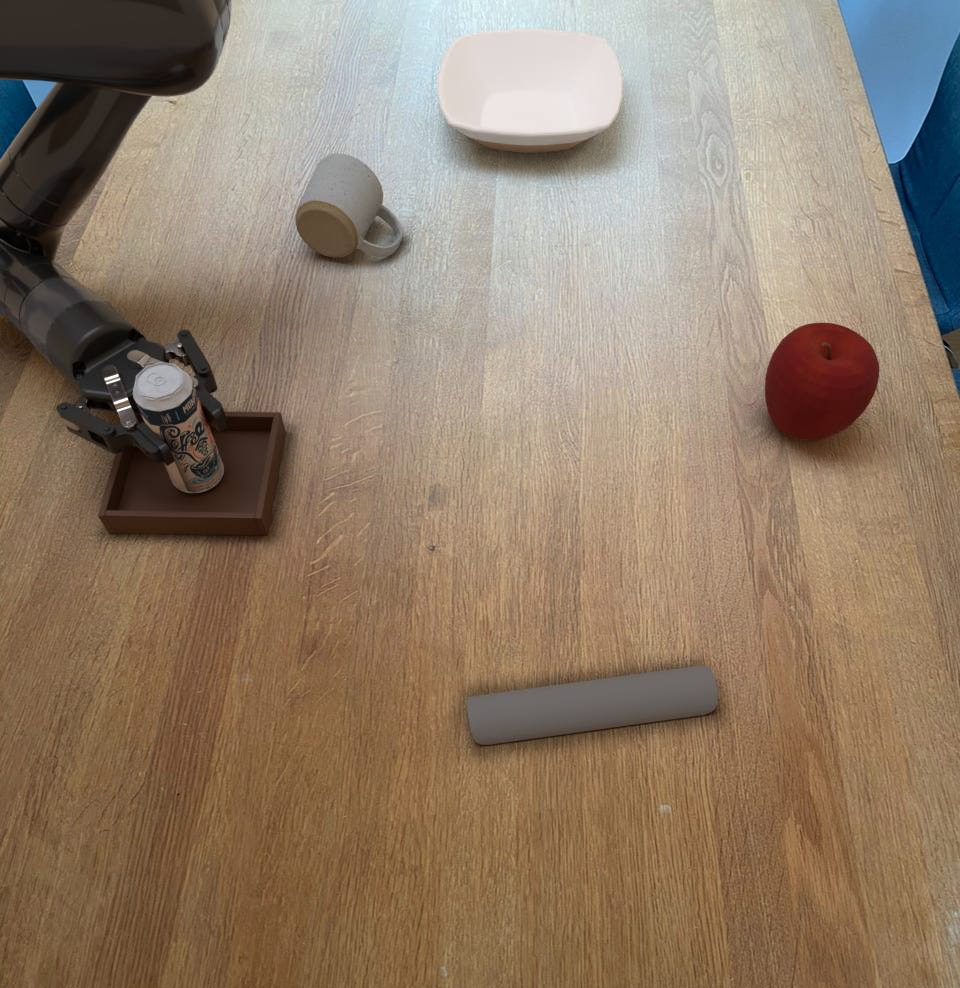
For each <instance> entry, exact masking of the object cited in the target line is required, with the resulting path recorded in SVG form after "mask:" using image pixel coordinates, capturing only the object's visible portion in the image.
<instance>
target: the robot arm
mask: <svg viewBox="0 0 960 988" xmlns="http://www.w3.org/2000/svg"><path fill="white" fill-rule="evenodd" d="M232 3H233V2H232V0H0V81H35V82H36V81H38V82H49V83H55V84H54V85H53V86H52V87H51V88H50V90H49V92H48V93H47V94H46V96H45V97H44V98H43V99H42V101H41V103H40V104H39V105H38V107H37V108H36V109H35V110H34V111H33V113H32V114H31V116H30V117H29V118H28V119H27V121H26V122H25V123H24V125H23V126H22V127H21V129H20V130H19V131H18V133H17V134H16V136H15V138H14V139H13V140H12V141H11V143H10V145H9V146H8V147H7V149H6V151H5V152H4V154H2V157H0V315H1V316H3V317H5V318H6V319H8V321H9V322H10V323H12V325H13V326H15V328H16V329H18V330H19V332H20V333H22V334H23V335H24V336H25V337H26V338H27V339H28V340H29V341H30V343H31V345H32V346H33V347H34V348H35V350H36V351H37V352H38V353H39V354H40V355H41V356H42V357H43V358H44V359H45V360H46V361H47V362H48V363H49V364H50V365H51V366H52V367H53V368H54V369H55V370H56V371H57V372H58V373H59V374H60V375H61V376H63V377H64V378H65V379H66V380H67V381H68V382H69V383H70V384H71V385H72V386H73V387H74V388H75V389H76V390H77V391H78V395H79V396H78V397H77V398H76V399H75V400H74V401H73V402H67V401H64V402H60V403H59V404H58V405H57V406H56V411H57V414H58V415H59V417H60V418H61V420H62V422H63V424H64V425H65V427H66V429H67V431H68V432H69V433H72V434H73V435H76V436H77V437H79V438H82V439H83V440H85V441H87V442H89V443H91V444H92V445H95V446H97V447H98V448H101V449H103V450H105V451H106V452H108V453H110V454H113V455H116V454H118V453H120V452H122V451H123V449H124V447H125V446H128V445H133V446H136V447H138V448H139V449H140V450H141V451H142V452H143V453H144V454H145V455H147V456H148V457H149V458H150V459H151V460H152V461H153V462H154V463H157V464H160V463H161V462H164V463H165V464H166V465H167V466H169V465H170V464H172V463H173V462H175V460H174V457H173V455H172V453H171V450H170V448H169V447H168V445H167V444H166V443H165V442H164V441H163V440H162V439H161V438H160V437H159V436H157V435H156V434H155V433H154V432H153V431H152V430H151V429H150V428H149V427H148V426H147V425H146V424H145V423H144V422H142V423H139V421H138V418H137V416H136V414H137V413H138V412H140V411H139V409H138V406H137V404H136V402H135V400H134V397H133V388H134V385H135V380H136V375H137V374H139V373H140V372H141V371H142V370H143V369H144V368H145V367H146V366H149V365H152V364H156V363H159V362H164V363H170V361H171V360H176V361H177V362H178V363H179V364H183V366H184V367H189V366H190V368H191V370H192V373H193V374H194V376H191V375H189V376H190V378H191V380H192V382H193V385H194V387H195V390H196V393H197V395H198V398H199V401H200V403H201V406H202V409H203V411H204V414H205V417H206V420H207V421H208V422H209V423H210V424H211V425H212V426H213V427H214V428H215V429H216V430H218V431H219V432H220V431H221V430H223V429H224V428H226V424H225V420H227V418H226V415H225V412H226V411H225V409H224V407H223V404H222V403H221V402H220V401H219V400H218V399H217V398H216V397H215V396H213V393H215V392H217V390H218V384H217V381H216V379H215V376H214V372H213V370H212V367H211V365H210V363H209V361H208V359H207V358H206V356H205V355H204V353H203V351H202V350H201V348H200V346H199V344H198V342H197V341H196V339H195V337H194V336H193V334H192V332H191V330H188V329H182V330H179V331H178V332H177V334H176V337H177V339H178V340H175V341H173V342H170V343H167V344H165V345H163V344H161V343H160V342H157V341H154V340H153V341H152V340H150V339H148V338H147V337H145V335H144V334H143V333H142V332H141V331H140V330H139V329H138V328H137V327H135V326H134V325H133V324H132V323H131V322H129V320H128V319H126V318H125V317H124V316H123V315H122V314H121V313H120V312H118V311H117V310H116V308H114V306H113V305H112V304H111V303H110V302H108V301H107V300H104V299H103V298H102V297H101V296H100V295H99V294H98V293H96V292H94V291H93V290H92V289H91V288H89V287H87V286H85V285H83V284H82V283H81V282H80V281H78V279H76V277H74V276H73V275H71V273H70V272H68V271H67V270H66V269H65V268H64V267H63V266H61V265H60V264H59V263H57V262H56V261H55V259H56V258H57V257H56V256H57V253H58V250H59V247H60V245H61V244H60V243H61V240H62V237H63V234H64V231H65V228H66V226H67V225H68V224H69V222H71V220H72V219H73V218H74V216H75V215H76V214H77V213H78V211H79V210H80V208H81V207H82V206H83V205H84V203H85V202H86V201H87V199H89V197H90V195H91V194H92V192H93V191H94V190H95V188H96V187H97V185H98V183H99V182H100V181H101V179H102V177H103V176H104V174H105V173H106V171H107V169H108V167H109V165H110V164H111V162H112V161H113V159H114V158H115V155H116V154H117V152H118V150H119V148H120V146H121V145H122V143H123V141H124V139H125V138H126V136H127V134H129V133H128V132H129V131H130V129H131V128H132V126H133V124H134V123H135V121H136V119H137V118H138V116H139V115H140V114H141V112H142V111H143V109H144V108H145V107H146V105H147V104H148V103H149V101H150V100H151V99H152V97H159V98H170V97H179V96H185V95H188V94H190V93H193V92H195V91H197V90H199V89H200V88H202V87H203V86H204V85H205V84H207V82H208V81H209V80H210V78H211V77H212V76H213V74H214V73H215V71H216V70H217V67H218V64H219V62H220V58H221V56H222V53H223V50H224V46H225V44H226V41H227V36H228V34H229V31H230V26H231V19H232V11H233V4H232ZM91 410H94V411H102V412H111V413H117V415H118V418H119V420H120V423H118V424H115V425H114V424H112V423H110V422H109V421H106V420H104V419H102V418H100V417H99V416H97V415H94V414H92V412H91Z"/></svg>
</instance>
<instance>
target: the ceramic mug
mask: <svg viewBox="0 0 960 988" xmlns="http://www.w3.org/2000/svg"><path fill="white" fill-rule="evenodd" d="M383 201H384V191H383V186H382V184H381V181H380V179H379V178H378V177H377V175H376V173H375V172H374V171H373V170H372V168H370V167H369V166H368V165H367V164H366V163H365V162H363V161H361V160H360V159H359V158H357V157H355V156H353V155H350V154H346V153H331V154H328V155H326V156H324V157H322V158H321V160H320V161H319V162H318V163H317V166H316V167H315V169H314V171H313V174H312V176H311V178H310V179H309V181H308V183H307V186H306V189H305V190H304V192H303V194H302V196H301V198H300V200H299V203H298V204H297V208H296V213H295V219H294V220H295V227H296V230H297V232H298V235H299V236H300V238H301V239H302V241H303V242H304V243H305V244H306V245H307V247H309V248H310V249H312V250H313V251H314V252H316V253H318V254H320V255H322V256H325V257H329V258H344V257H348V256H349V255H351V254H352V253H353V252H354V251H355V250H360V252H362V253H364V254H365V255H368V256H372V257H375V258H386V257H389V256H392V255H393V254H394V253H395V252H396V251H397V250H398V249H399V247H400V244H401V242H402V240H403V237H404V236H403V235H404V230H403V226H402V223H401V222H400V221H399V219H398V217H397V216H396V215H395V214H394V213H393V212H392V211H391V209H389V208H387V206H385V205H383V204H384V203H383ZM377 217H378V218H380V219H381V220H383V221H384V222H386V224H387V225H389V227H390V228H391V229H392V231H393V233H394V235H395V239H394V240H393V241H392V243H390V244H388V245H385V246H380V245H377V244H374V243H371V242H369V241H368V240H366V239H364V238H365V237H366V234H367V233H368V231H369V229H370V228H371V226H372V224H373V222H374V221H375V219H376V218H377Z"/></svg>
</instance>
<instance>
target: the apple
mask: <svg viewBox="0 0 960 988" xmlns="http://www.w3.org/2000/svg"><path fill="white" fill-rule="evenodd" d="M764 379H765V382H764V401H765V404H766V410H767V414H768V415H769V418H770V420H771V422H772V424H773V425H774V426H775V427H776V429H777V430H778V431H779V432H781V433H782V434H784V435H785V436H788V437H789V438H792V439H796V440H799V441H818V440H819V441H820V440H825V439H827V438H830V437H832V436H835V435H838V434H839V433H842V432H843V431H844V430H846V429H847V428H849V427H850V426H852V425H853V424H854V423H855V422H856V421H857V420H858V419H859V418H860V417H861V416H862V414H863V413H864V412H865V411H866V409H867V408H868V406H869V405H870V403H871V402H872V400H873V398H874V396H875V393H876V391H877V388H878V384H879V379H880V363H879V359H878V357H877V353H876V351H875V348H874V347H873V346H872V344H871V343H870V342H869V341H868V340H867V339H866V338H865V337H864V336H862V335H861V334H859V333H858V332H857V331H855V330H853V329H851V328H849V327H846V326H844V325H841V324H839V323H832V322H813V323H806V324H804V325H801V326H798V327H796V328H794V329H793V330H792V331H790V332H789V333H788V334H786V336H785V337H783V338H782V339H781V340H780V342H779V343H778V345H777V346H776V347H775V349H774V351H773V352H772V354H771V357H770V359H769V362H768V365H767V368H766V373H765V378H764Z"/></svg>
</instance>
